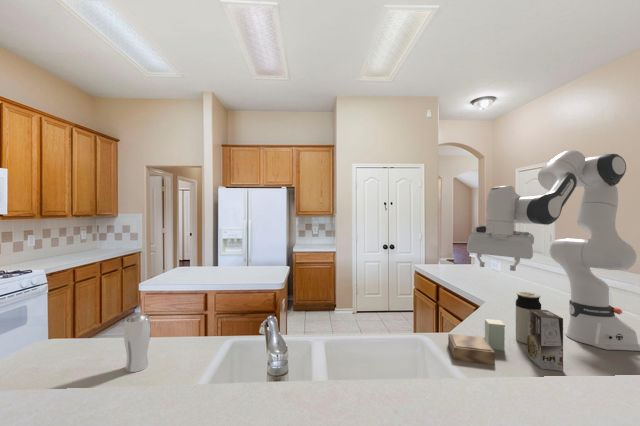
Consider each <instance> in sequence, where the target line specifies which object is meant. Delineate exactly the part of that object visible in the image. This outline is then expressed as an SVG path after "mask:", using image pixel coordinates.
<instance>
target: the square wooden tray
mask: <svg viewBox="0 0 640 426" xmlns="http://www.w3.org/2000/svg"><path fill="white" fill-rule="evenodd" d="M447 337H448V342H447V343H448V345H447V346H448V347H449V349H450V352H451V356H452V358H453V360H454V361H458V362H459V361H460V362H467V363H468V362H469V363H477V364H483V365H484V364H485V365H490V366H491V365H492V366H495V365H496V352H495V350H494V349H492V348H491V346H490V345H489V343H488V342H487V340H486V339H485V337H482V336H472V335H466V334H454V333H448V335H447Z"/></svg>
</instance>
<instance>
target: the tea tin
mask: <svg viewBox="0 0 640 426" xmlns="http://www.w3.org/2000/svg"><path fill="white" fill-rule="evenodd" d="M505 327H506V324H505V323H504V322H503V321H502V320H500V319H492V318H484V338H485V339H486V340H487V342H488V343H489V345H490V346H491V348H492V349H493V350H494V351H505V350H506V349H505V340H506V339H505V338H506V337H505V334H506V333H505V331H506V329H505Z"/></svg>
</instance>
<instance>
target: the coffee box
mask: <svg viewBox="0 0 640 426" xmlns="http://www.w3.org/2000/svg"><path fill="white" fill-rule="evenodd" d="M527 343H528V344H527V357H528V358H529V359H530V360H531V361H533V362H534V364H536V365H537V366H538V368H540V369H542V370H552V371H559V372H560V371H561V372H563V371H564V318H562V317H561V316H559V315H557V314H555V313H554V312H552V311H549V310H548V309H541V310H531V309H527Z"/></svg>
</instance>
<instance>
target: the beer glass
mask: <svg viewBox="0 0 640 426" xmlns="http://www.w3.org/2000/svg"><path fill="white" fill-rule="evenodd" d="M151 327H152V325H151V316H150V315H148V314H138V315H132V316H129V317H127V318H125V321H124V330H123V340H124V341H123V342H124V348H125V353H126V363H125V367H124V371H125V372H126V373H139V372H140V371H144V370H145V369H146V368H148V367H149V359H148V348H149V344H150V339H151V334H152V333H151Z"/></svg>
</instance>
